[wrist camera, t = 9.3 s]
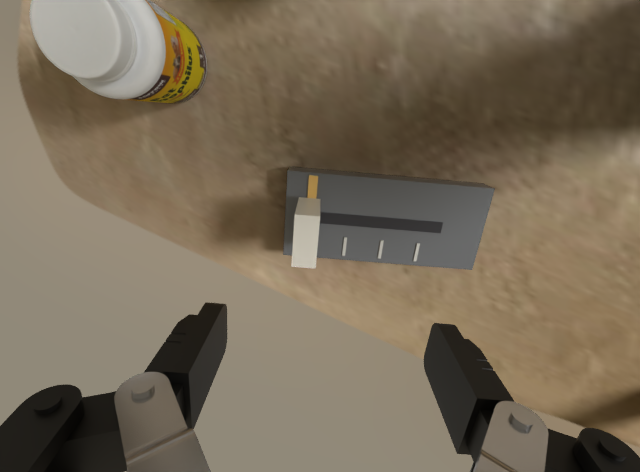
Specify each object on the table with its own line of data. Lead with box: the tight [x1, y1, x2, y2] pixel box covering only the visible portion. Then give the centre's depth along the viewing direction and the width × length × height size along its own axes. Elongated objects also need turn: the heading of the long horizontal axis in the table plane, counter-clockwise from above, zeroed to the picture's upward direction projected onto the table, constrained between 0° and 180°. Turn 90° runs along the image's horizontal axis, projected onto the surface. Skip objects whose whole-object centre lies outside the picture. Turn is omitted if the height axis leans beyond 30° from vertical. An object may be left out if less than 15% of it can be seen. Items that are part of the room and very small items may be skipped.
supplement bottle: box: [30, 0, 207, 103], centre depth 19 cm, size 6×6×10 cm
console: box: [283, 167, 495, 270], centre depth 27 cm, size 7×16×2 cm, turn 85°
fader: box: [291, 197, 320, 269], centre depth 23 cm, size 4×2×5 cm, turn 175°
